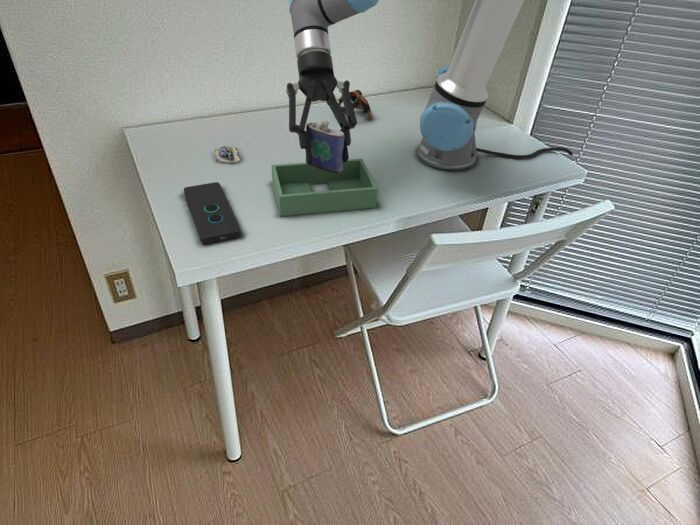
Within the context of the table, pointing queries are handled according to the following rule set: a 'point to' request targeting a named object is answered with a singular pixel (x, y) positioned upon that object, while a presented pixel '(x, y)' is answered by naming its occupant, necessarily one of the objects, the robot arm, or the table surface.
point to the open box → (346, 191)
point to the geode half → (227, 154)
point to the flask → (326, 147)
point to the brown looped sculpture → (357, 102)
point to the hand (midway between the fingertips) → (328, 161)
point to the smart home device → (211, 213)
